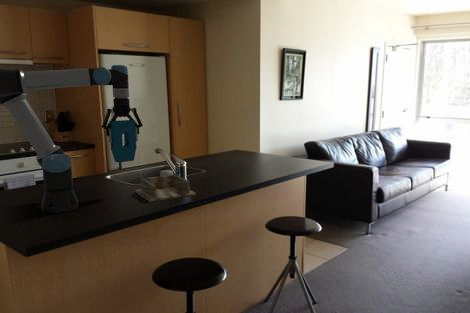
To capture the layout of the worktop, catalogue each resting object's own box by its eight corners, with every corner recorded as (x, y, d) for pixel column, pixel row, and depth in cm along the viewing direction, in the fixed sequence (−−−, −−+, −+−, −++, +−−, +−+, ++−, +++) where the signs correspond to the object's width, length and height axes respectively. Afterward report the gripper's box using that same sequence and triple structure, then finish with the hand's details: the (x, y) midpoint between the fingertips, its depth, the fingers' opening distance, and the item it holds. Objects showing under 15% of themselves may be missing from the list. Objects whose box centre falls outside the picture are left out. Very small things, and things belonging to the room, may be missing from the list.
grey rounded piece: (163, 187, 214) (162, 173, 213) (158, 185, 220) (158, 170, 219) (175, 186, 218) (174, 171, 216) (170, 183, 224) (170, 169, 222)
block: (115, 163, 193) (113, 121, 190) (110, 161, 197) (108, 121, 194) (137, 160, 201) (136, 120, 198) (132, 158, 205) (131, 119, 202)
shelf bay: (149, 201, 186) (148, 187, 185) (135, 192, 205) (134, 178, 204) (196, 194, 198) (195, 181, 197) (178, 186, 217) (178, 173, 216)
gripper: (96, 98, 185) (99, 144, 188) (148, 97, 197) (149, 141, 200) (93, 98, 191) (96, 142, 195) (143, 97, 203) (145, 139, 207)
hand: (123, 141), depth 197 cm, fingers closed on block, 12 cm apart
